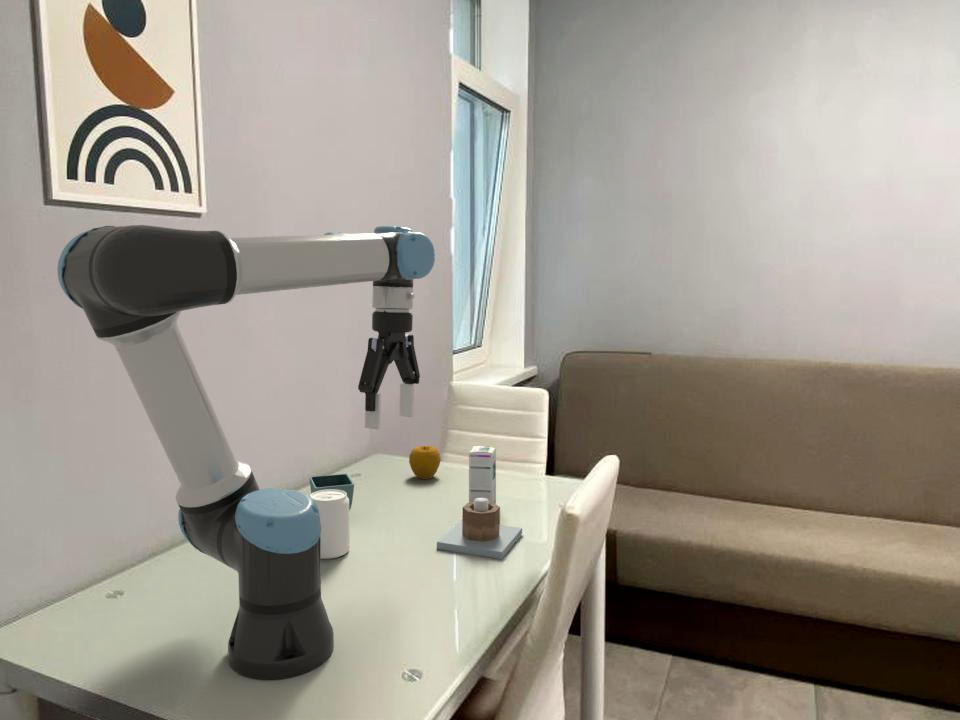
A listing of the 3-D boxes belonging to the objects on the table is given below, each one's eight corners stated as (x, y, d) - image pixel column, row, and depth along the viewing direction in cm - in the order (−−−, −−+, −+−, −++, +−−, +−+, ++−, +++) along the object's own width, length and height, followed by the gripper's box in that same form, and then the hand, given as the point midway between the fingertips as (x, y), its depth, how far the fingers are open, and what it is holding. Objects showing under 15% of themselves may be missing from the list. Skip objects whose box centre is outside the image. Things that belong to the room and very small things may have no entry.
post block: (501, 559, 140) (502, 515, 138) (436, 548, 144) (436, 506, 143) (522, 534, 153) (522, 494, 152) (461, 525, 157) (462, 486, 156)
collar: (491, 543, 144) (492, 514, 143) (458, 538, 146) (458, 510, 145) (502, 531, 151) (503, 503, 150) (470, 526, 153) (471, 499, 152)
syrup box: (492, 512, 166) (493, 452, 164) (467, 510, 167) (468, 451, 165) (495, 504, 172) (497, 446, 170) (471, 503, 173) (472, 445, 171)
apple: (428, 470, 199) (428, 440, 198) (446, 478, 193) (447, 446, 192) (403, 476, 194) (403, 444, 193) (421, 483, 187) (421, 451, 186)
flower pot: (355, 522, 159) (354, 483, 157) (315, 527, 155) (314, 487, 154) (347, 509, 167) (347, 472, 166) (309, 514, 163) (308, 476, 162)
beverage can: (340, 562, 137) (339, 503, 135) (301, 558, 139) (300, 499, 137) (355, 546, 145) (355, 490, 143) (318, 543, 146) (317, 487, 145)
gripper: (377, 313, 120) (375, 436, 122) (438, 310, 143) (435, 413, 145) (339, 311, 122) (337, 431, 124) (404, 308, 145) (402, 410, 148)
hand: (390, 422), depth 135 cm, fingers open, 13 cm apart
